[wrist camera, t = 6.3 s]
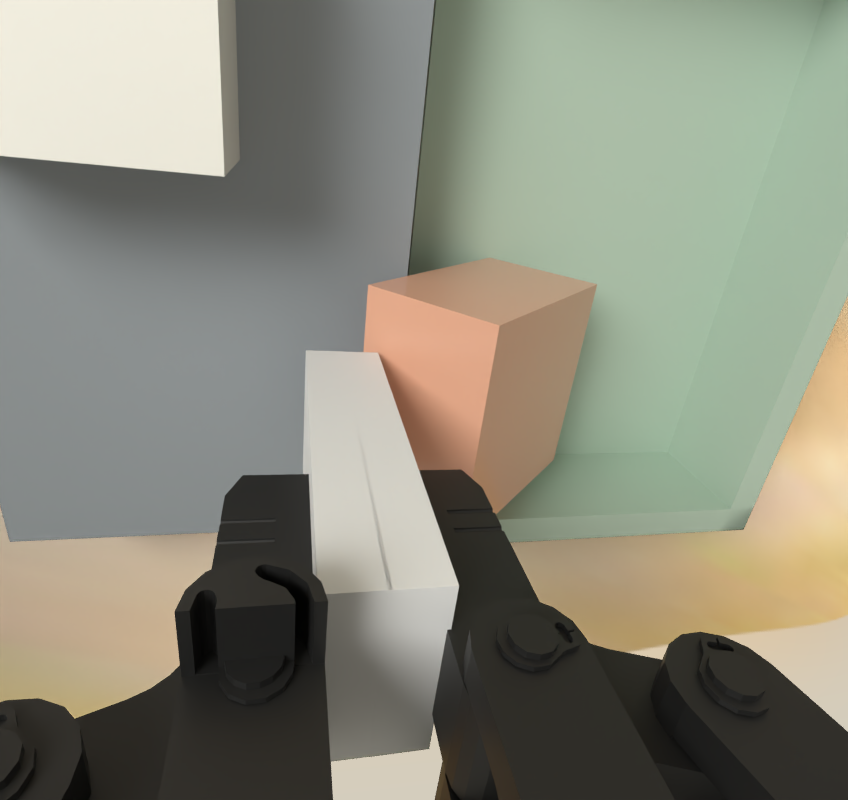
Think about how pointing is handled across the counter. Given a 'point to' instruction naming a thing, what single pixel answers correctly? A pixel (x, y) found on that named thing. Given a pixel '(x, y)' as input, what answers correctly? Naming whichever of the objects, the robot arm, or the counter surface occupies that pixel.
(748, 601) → the counter surface
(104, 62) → the tile
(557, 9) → the tray
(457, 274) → the tile
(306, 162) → the board
